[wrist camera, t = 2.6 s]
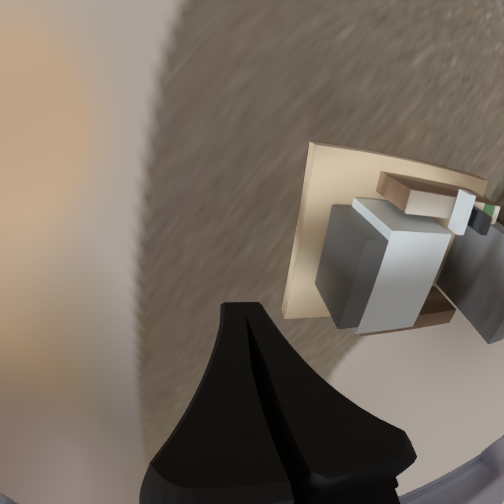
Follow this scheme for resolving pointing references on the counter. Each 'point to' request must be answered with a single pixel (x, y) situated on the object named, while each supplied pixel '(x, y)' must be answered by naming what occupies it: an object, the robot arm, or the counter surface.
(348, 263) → the light grey block
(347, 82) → the counter surface
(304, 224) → the stand
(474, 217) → the dark navy block
